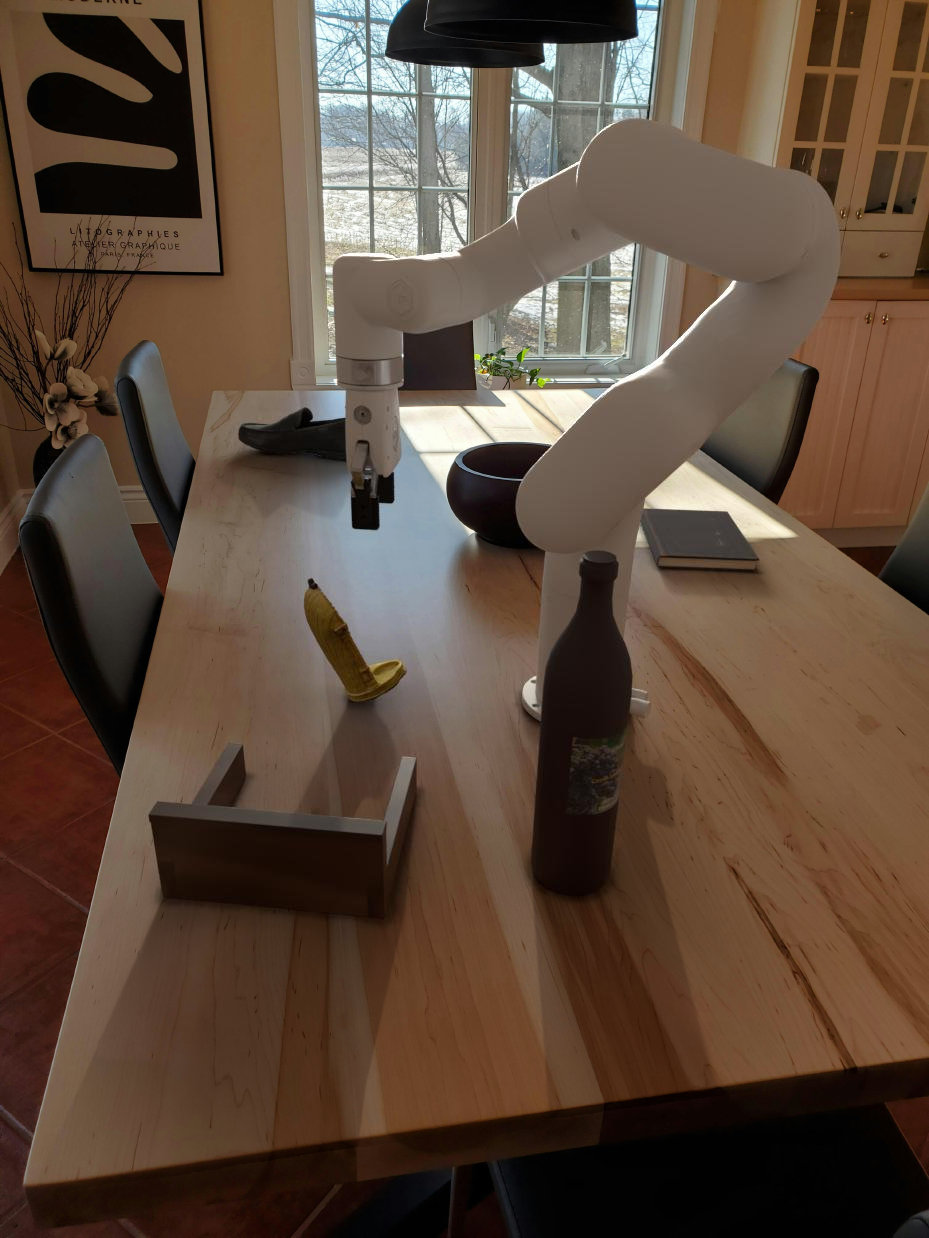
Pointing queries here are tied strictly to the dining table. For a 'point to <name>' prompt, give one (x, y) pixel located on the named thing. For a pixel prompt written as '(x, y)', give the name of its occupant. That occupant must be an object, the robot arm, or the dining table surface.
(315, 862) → the dark wooden open frame
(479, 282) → the robot arm
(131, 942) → the dining table surface
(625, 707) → the wine bottle
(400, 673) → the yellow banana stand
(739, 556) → the hardcover book
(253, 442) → the loafer
